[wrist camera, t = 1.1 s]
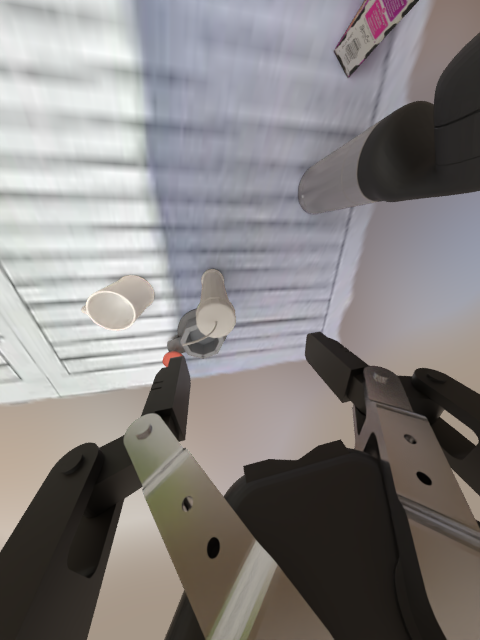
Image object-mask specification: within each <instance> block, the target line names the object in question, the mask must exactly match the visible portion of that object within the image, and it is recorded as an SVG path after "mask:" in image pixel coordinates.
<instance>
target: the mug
mask: <svg viewBox="0 0 480 640" xmlns="http://www.w3.org/2000/svg"><path fill="white" fill-rule="evenodd" d="M153 300H154V290H153V288H152V286H151V285H150V283H149V282H148V281H146V280H145V279H143V278H141V277H139V276H135V275H128V276H124V277H122V278H121V279H120V280H119V281H117V282H115V283H113V284H111V285H109V286H107V287H105V288H103V289H101V290H99V291H97V292H95V293H94V294H92V295H91V296H90V297H89V298H88V300H87V302H86V305H85V306H83V307H82V309H81V311H82V312H83V313H85V314H88V315H89V317H90V318H91V320H92V321H93V322H95V323H96V324H97V325H99V326H100V327H102V328H105V329H108V330H114V331H119V330H124V329H127V328H129V327H130V326H131V325H132V324H133V323H134V322H135V321H136V320H137V318H138V317H139V316H140V315H141V314H142V313H143V311H144V310H145V309H146V308H147V307H148V306H150V305H151V304H152V302H153Z"/></svg>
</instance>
